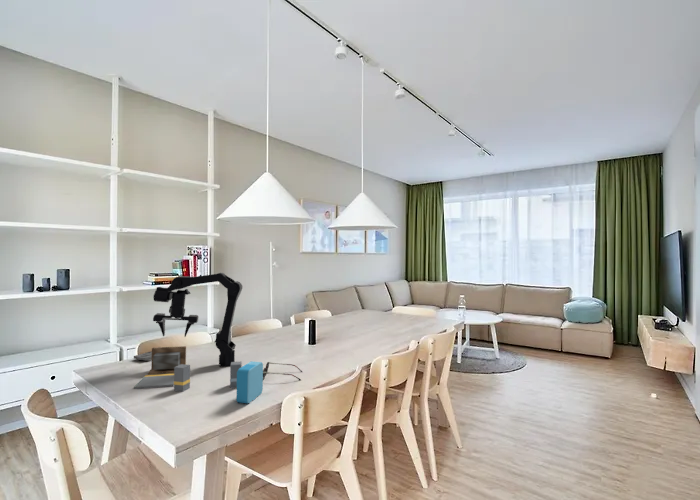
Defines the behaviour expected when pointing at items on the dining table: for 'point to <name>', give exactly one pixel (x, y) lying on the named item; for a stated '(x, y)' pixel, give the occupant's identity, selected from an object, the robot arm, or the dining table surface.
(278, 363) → the sunglasses
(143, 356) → the graphics card
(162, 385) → the pad
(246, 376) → the blue flat block
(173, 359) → the mounted unit
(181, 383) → the block
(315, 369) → the dining table surface
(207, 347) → the dining table surface
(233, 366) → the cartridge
